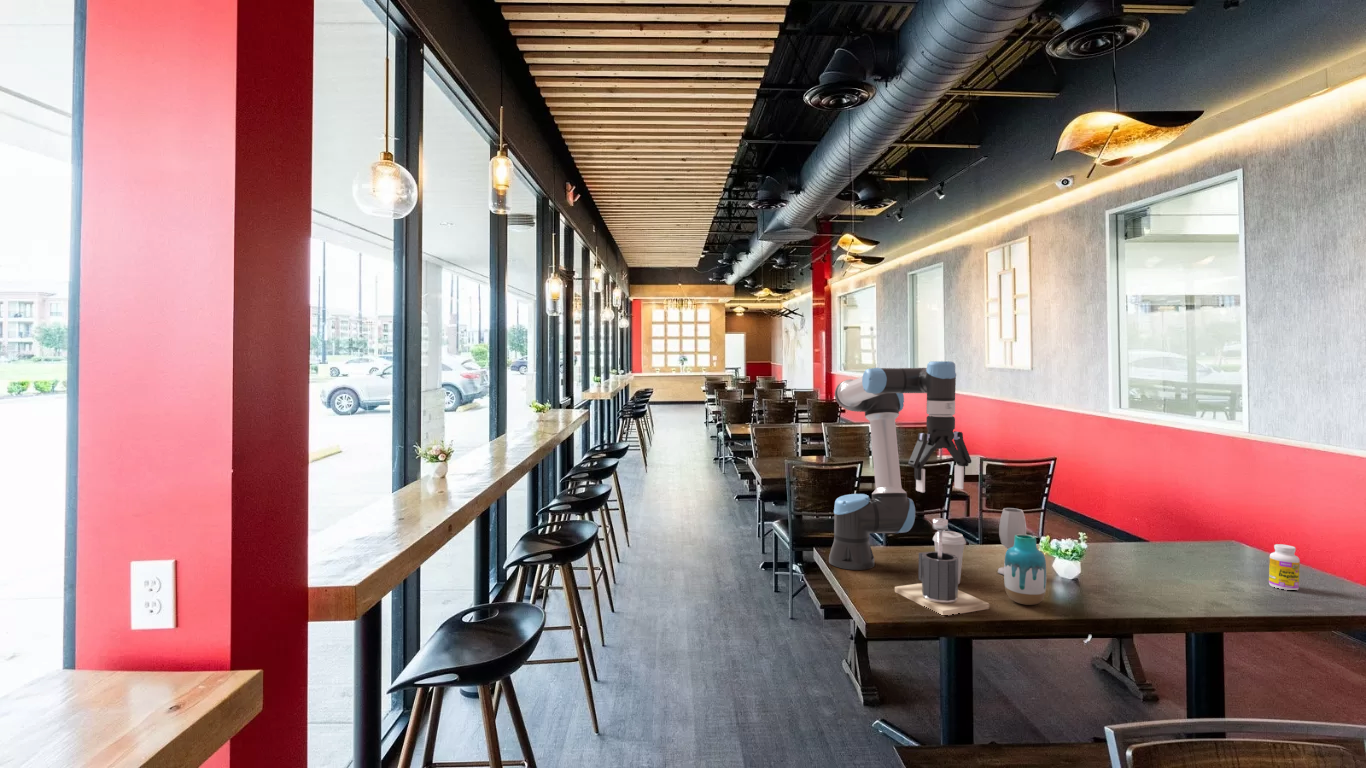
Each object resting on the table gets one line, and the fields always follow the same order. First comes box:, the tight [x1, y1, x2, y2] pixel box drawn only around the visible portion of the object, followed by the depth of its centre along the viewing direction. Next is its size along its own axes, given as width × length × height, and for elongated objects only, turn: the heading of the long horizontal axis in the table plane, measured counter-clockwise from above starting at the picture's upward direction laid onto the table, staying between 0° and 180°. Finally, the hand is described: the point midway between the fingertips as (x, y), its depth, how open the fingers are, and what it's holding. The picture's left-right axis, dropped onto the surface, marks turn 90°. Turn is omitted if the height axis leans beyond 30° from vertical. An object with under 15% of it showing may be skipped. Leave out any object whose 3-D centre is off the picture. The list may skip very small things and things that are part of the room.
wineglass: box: [997, 507, 1027, 576], centre depth 205 cm, size 9×9×21 cm
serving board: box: [894, 582, 990, 616], centre depth 182 cm, size 20×16×2 cm
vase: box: [1003, 533, 1047, 606], centre depth 179 cm, size 11×11×19 cm
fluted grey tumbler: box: [918, 550, 959, 604], centre depth 181 cm, size 12×9×12 cm
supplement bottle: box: [1268, 543, 1300, 591], centre depth 192 cm, size 7×7×13 cm
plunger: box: [932, 517, 949, 560], centre depth 179 cm, size 6×6×21 cm
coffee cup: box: [932, 530, 966, 585], centre depth 198 cm, size 10×10×15 cm
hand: (939, 490), depth 179 cm, fingers open, 13 cm apart
